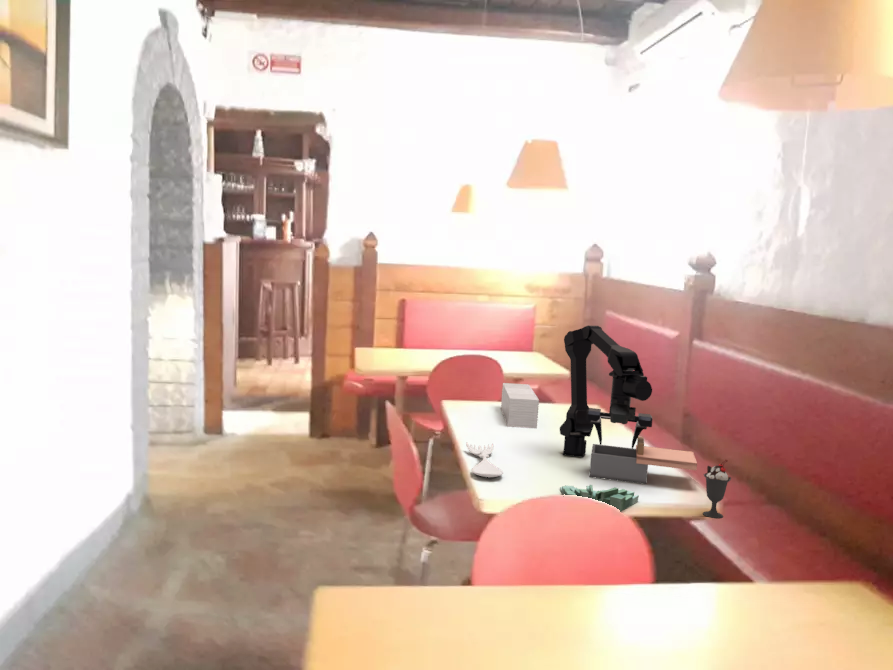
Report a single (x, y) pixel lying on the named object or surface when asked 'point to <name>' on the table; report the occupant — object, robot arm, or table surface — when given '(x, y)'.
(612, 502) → the money
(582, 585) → the table surface
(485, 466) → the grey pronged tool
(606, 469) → the base
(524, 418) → the stack of papers
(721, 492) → the sundae
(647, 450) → the lid
